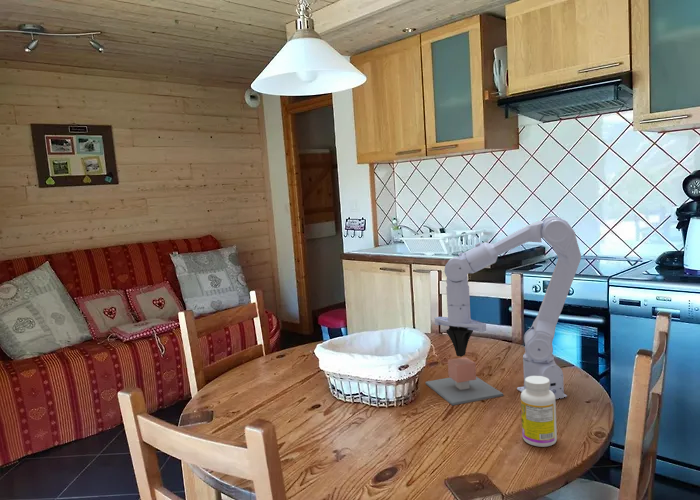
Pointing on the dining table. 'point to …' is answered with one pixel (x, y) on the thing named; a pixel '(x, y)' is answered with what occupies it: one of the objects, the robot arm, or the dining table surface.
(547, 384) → the supplement bottle
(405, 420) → the dining table surface
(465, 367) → the peach rounded cube
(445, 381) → the grey square base plate
